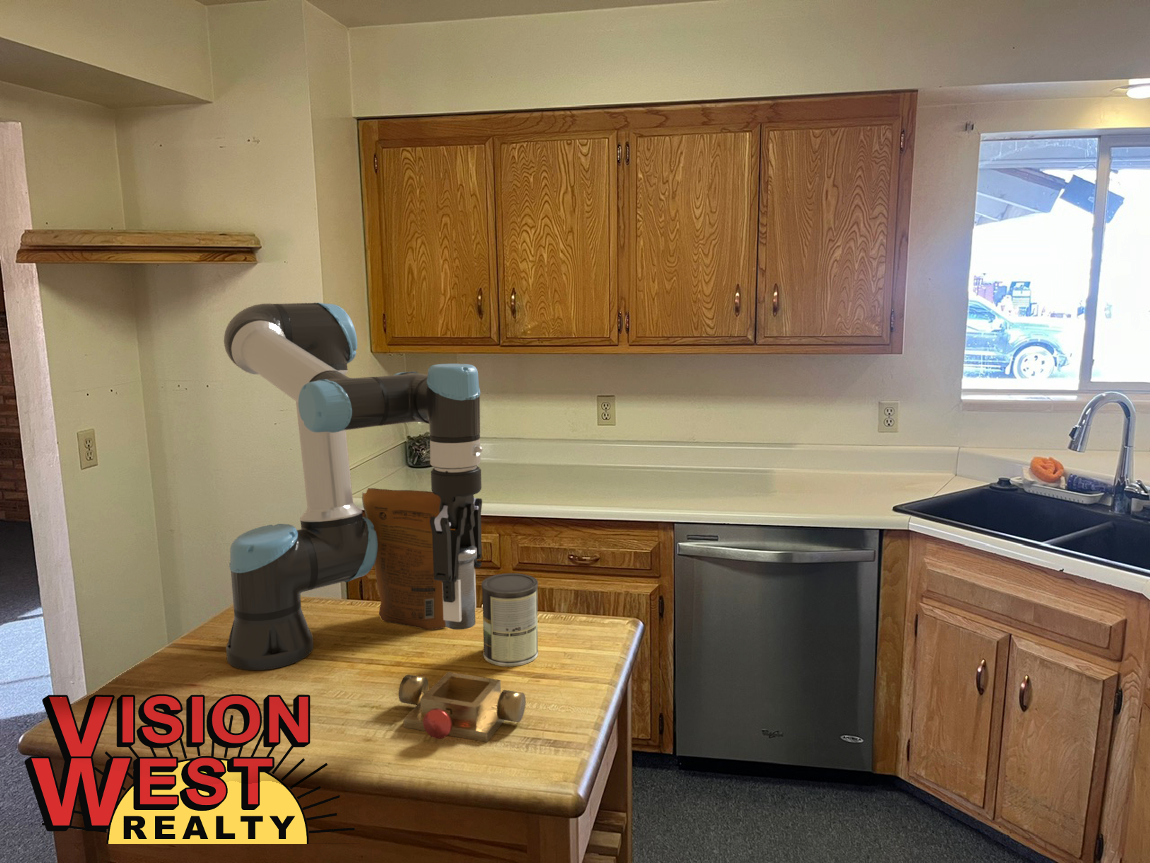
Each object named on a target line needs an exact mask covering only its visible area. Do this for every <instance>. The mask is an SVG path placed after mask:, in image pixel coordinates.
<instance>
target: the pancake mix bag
mask: <svg viewBox="0 0 1150 863" xmlns="http://www.w3.org/2000/svg"><path fill="white" fill-rule="evenodd" d="M361 495H362V496H361V500H362V508H363V510H364V515H365V516H364V517H365V518H368V519H369V520H370V521H371V522H372V524H373V525H374V530H375V531H376V534H377V541H378V550H377V557H376V561H375V563H374V566H373V567H374V569H375V570H374V571H375V580H376V584H377V589H378V594H379V598H380V605H379V611H378V615H379V617H380V619H381V621H383V622H385V623H392V624H398V625H401V626H407V627H408V626H409V627H414V628H417V629H418V628H419V629H422V630H431V631H432V630H440V629H444V628H447V627H446V620H443V590H442V581H439V580H434V569H433V543H432V530H431V526H430V518H431V517H437V516H438V515H439V514H440V513H439V507H440V500H441V499H440V497H439V496H438V495H435V494H434V493H433V492H432V491H430V490H429V491H427V490H414V489H410V490H409V489H401V490H399V489H386V488H375V487H371V488H369V487H368V488H367V490H366V492H364V491H363V492H362V493H361Z"/></svg>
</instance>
